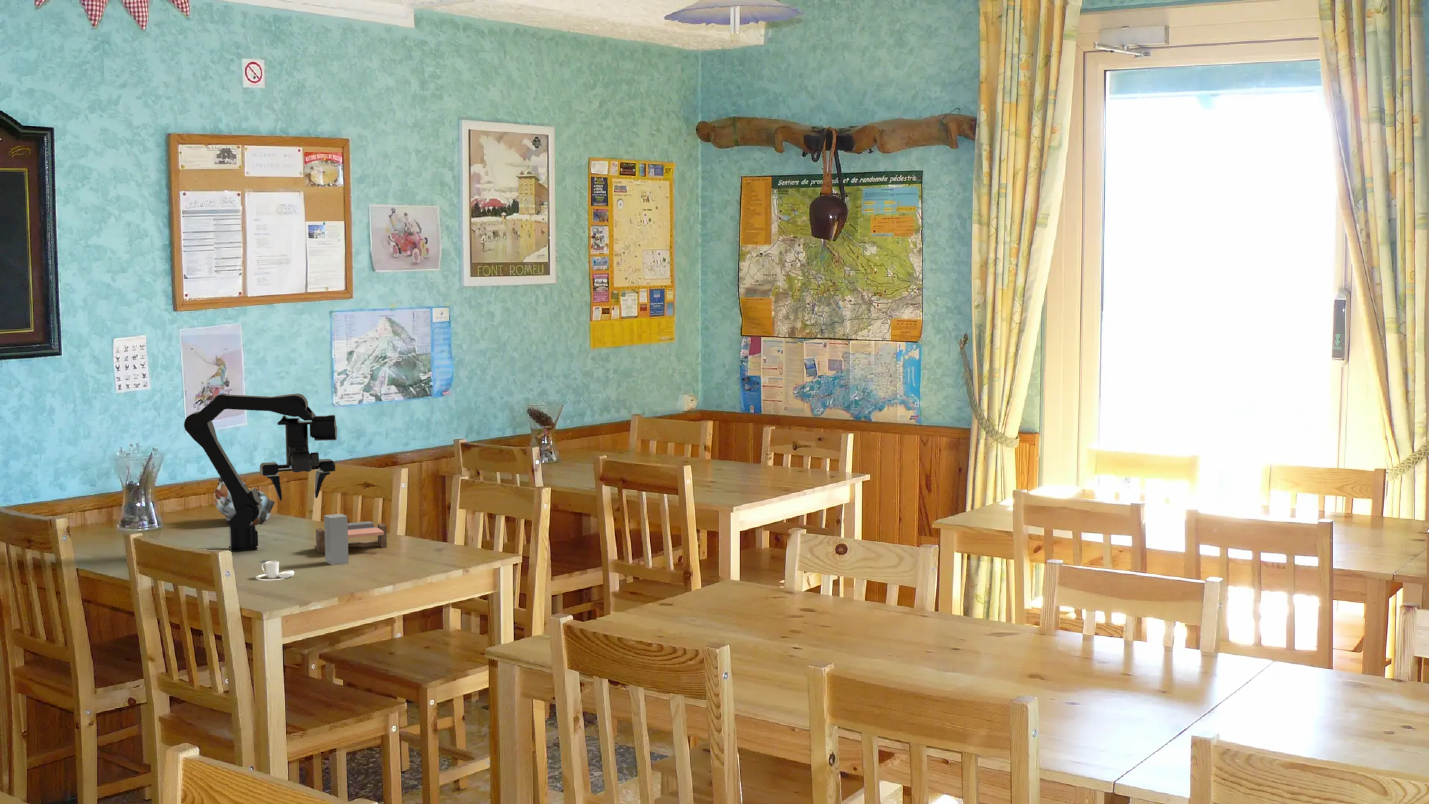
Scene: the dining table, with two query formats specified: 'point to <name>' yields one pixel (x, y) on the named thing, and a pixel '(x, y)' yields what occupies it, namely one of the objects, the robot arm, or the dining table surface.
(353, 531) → the pink flat slab
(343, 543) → the stone block
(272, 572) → the teacup and saucer
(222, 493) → the lucky cat figurine
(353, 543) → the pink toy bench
